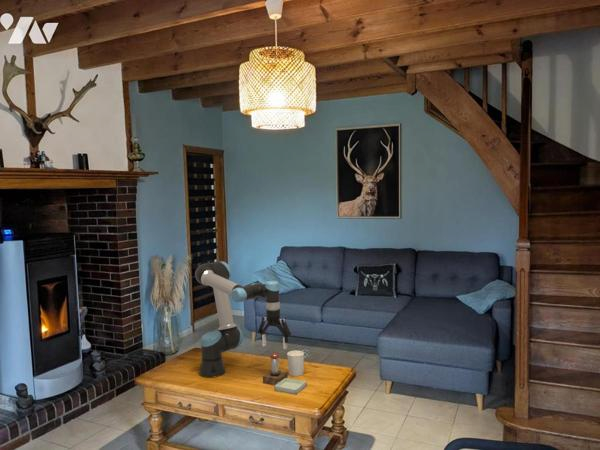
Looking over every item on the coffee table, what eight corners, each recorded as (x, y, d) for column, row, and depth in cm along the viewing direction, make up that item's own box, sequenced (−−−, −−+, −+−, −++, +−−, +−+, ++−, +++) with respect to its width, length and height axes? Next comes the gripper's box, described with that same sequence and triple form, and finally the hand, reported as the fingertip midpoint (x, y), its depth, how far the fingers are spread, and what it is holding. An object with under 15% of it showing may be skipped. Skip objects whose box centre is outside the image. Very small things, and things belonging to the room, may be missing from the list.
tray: (274, 390, 243) (274, 385, 243) (285, 382, 254) (285, 377, 254) (295, 394, 237) (295, 390, 237) (306, 386, 248) (306, 381, 248)
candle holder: (302, 377, 261) (302, 356, 260) (286, 376, 263) (285, 355, 262) (306, 370, 271) (305, 350, 270) (289, 370, 273) (289, 350, 272)
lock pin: (269, 382, 255) (268, 354, 254) (273, 379, 259) (273, 352, 258) (276, 383, 253) (276, 356, 252) (281, 380, 257) (280, 353, 256)
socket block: (262, 383, 254) (262, 376, 254) (272, 376, 263) (272, 370, 262) (278, 386, 249) (278, 378, 249) (287, 379, 258) (287, 372, 258)
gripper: (250, 309, 256) (252, 346, 257) (289, 312, 245) (291, 351, 246) (258, 306, 263) (259, 342, 264) (296, 309, 251) (297, 347, 252)
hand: (274, 347), depth 255 cm, fingers open, 13 cm apart
